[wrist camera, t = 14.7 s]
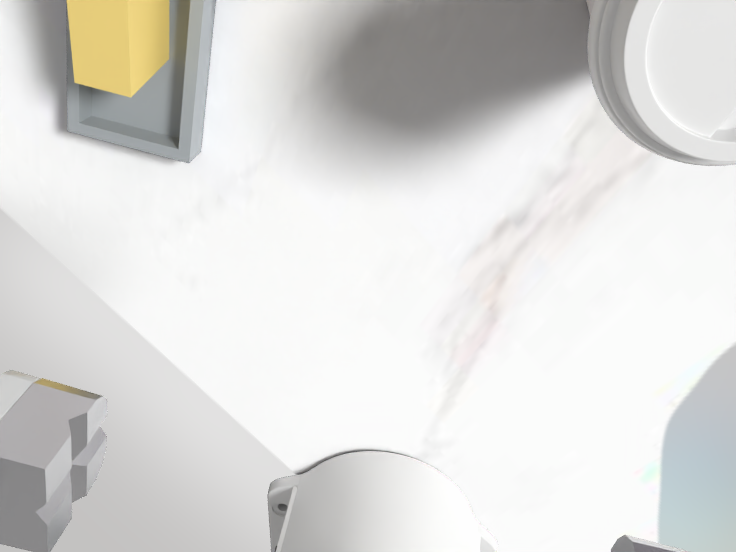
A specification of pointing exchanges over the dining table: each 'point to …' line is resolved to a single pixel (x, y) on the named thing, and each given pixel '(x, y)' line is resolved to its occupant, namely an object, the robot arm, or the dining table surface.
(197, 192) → the dining table surface
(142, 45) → the yellow rectangular block
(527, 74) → the dining table surface
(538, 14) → the dining table surface
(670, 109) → the coffee cup
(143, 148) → the tray
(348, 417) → the dining table surface
